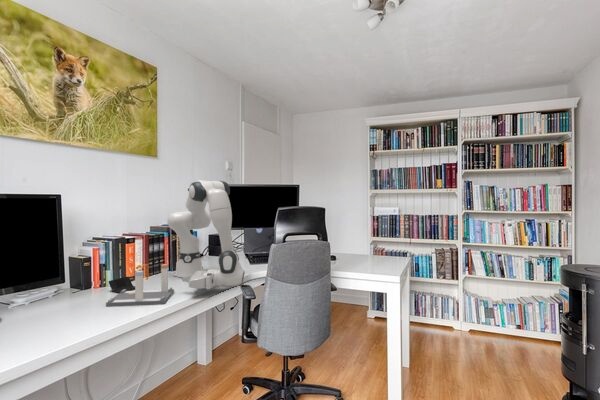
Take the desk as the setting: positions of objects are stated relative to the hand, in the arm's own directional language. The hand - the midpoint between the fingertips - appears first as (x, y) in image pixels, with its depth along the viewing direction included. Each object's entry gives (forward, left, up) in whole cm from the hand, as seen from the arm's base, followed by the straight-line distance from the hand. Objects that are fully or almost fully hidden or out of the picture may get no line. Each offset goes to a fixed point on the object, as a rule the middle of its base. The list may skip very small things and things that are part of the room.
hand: (182, 279), depth 158 cm
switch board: (+7, -16, -7) cm, 19 cm away
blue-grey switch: (+14, -16, -5) cm, 22 cm away
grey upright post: (0, -8, -5) cm, 10 cm away
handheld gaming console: (-10, -30, -7) cm, 33 cm away
